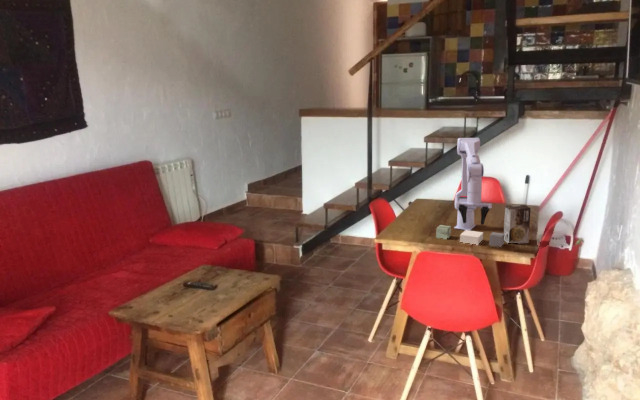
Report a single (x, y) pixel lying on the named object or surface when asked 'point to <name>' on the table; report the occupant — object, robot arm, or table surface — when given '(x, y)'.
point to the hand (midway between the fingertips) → (473, 223)
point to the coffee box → (517, 224)
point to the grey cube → (496, 239)
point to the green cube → (443, 231)
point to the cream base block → (471, 237)
